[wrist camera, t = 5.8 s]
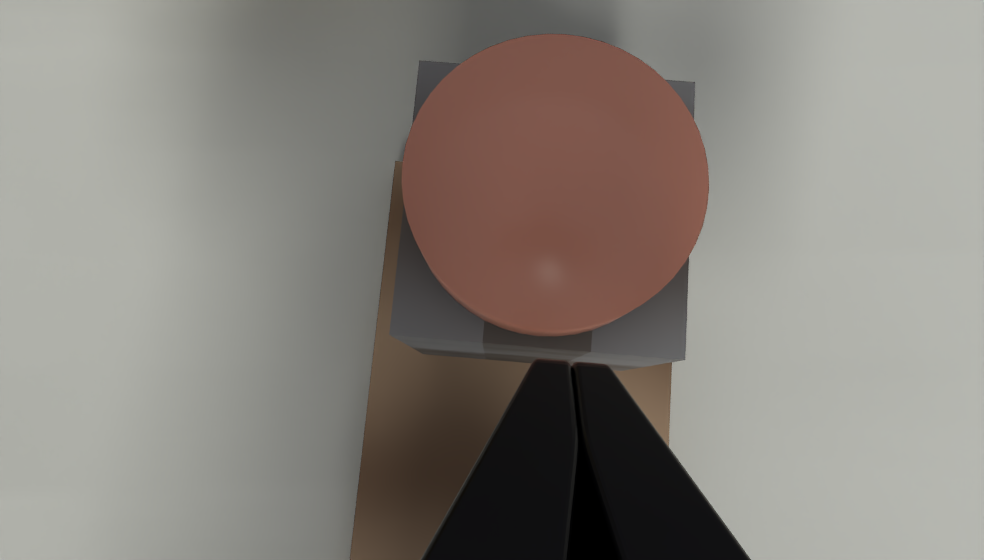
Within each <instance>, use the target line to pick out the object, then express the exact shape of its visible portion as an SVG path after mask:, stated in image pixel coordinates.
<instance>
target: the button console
mask: <svg viewBox="0 0 984 560" xmlns="http://www.w3.org/2000/svg"><path fill="white" fill-rule="evenodd" d="M458 65H460V64H456V63H443V62H431V61H419V70H418V79H417V88H416V97H415V106H414V115H413V123H414V121H415V119H416V116H417V114H418V112H419V110H420V108H421V107H422V105H423V104H424V102H425V101H426V99H427V98H428V96H429V95H430V93H431V92H432V91H433V90H434V89H435V88H436V86H437V85H438V84H439V83H440V82H441V81H442V79H443V78H445V77H446V76H447V75H448V74H449V73H450V72H451V71H452V70H454V69H455V68H456V67H457V66H458ZM666 81H667V82H668V83H669V85H670V86H671V87H672V88H673V89H674V91H675V92H676V93H677V94H678V95H679V96H680V98H681V99H682V101H683V102H684V104H685V105H686V107H687V109H688V110H689V112H690V113H691V115H692V117H693V119H694V96H695V82H685V81H672V80H666ZM412 125H413V124H412ZM402 163H403V162H400V161H395V169H394V178H393V187H392V195H391V204H390V213H389V222H388V230H387V239H386V248H385V257H384V265H383V274H382V283H381V292H380V300H379V309H378V318H377V327H376V335H375V344H374V353H373V361H372V370H371V379H370V388H369V396H368V405H367V414H366V423H365V431H364V440H363V449H362V458H361V466H360V475H359V484H358V493H357V501H356V510H355V519H354V528H353V536H352V545H351V554H350V560H420V559H421V557H422V555H423V554H424V552H425V550H426V548H427V547H428V545H429V543H430V541H431V540H432V538H433V536H434V534H435V533H436V531H437V529H438V527H439V526H440V524H441V522H442V520H443V519H444V517H445V515H446V513H447V511H448V510H449V508H450V506H451V504H452V503H453V501H454V499H455V497H456V496H457V494H458V492H459V490H460V489H461V487H462V485H463V483H464V482H465V480H466V478H467V476H468V475H469V473H470V471H471V469H472V468H473V466H474V464H475V462H476V460H477V459H478V457H479V455H480V453H481V452H482V450H483V448H484V446H485V445H486V443H487V441H488V439H489V438H490V436H491V434H492V432H493V431H494V429H495V427H496V425H497V424H498V422H499V420H500V418H501V416H502V415H503V413H504V411H505V409H506V408H507V406H508V404H509V402H510V401H511V399H512V397H513V395H514V394H515V392H516V390H517V388H518V387H519V385H520V383H521V381H522V380H523V378H524V376H525V374H526V373H527V371H528V369H529V367H530V365H531V364H532V362H533V361H534V360H536V359H539V358H541V359H553V360H564V361H567V362H569V364H570V365H571V366H572V365H573V363H575V362H587V363H599V364H605V365H608V366H609V367H610V368H611V369H612V370H613V371H614V373H615V374H616V375H617V377H618V378H619V380H620V381H621V382H622V384H623V385H624V386H625V388H626V389H627V391H628V392H629V393H630V395H631V396H632V397H633V399H634V400H635V401H636V403H637V404H638V406H639V407H640V408H641V410H642V411H643V412H644V414H645V415H646V417H647V418H648V419H649V421H650V422H651V423H652V425H653V426H654V428H655V429H656V430H657V432H658V433H659V434H660V436H661V437H662V438H663V440H664V441H665V443H666V444H667V445H668V447H669V421H670V395H671V370H672V362H676V361H681V360H685V351H686V322H687V294H688V266H689V257H688V258H687V260H686V262H685V263H684V264H683V266H682V267H681V268H680V270H679V271H678V272H677V274H676V275H675V276H674V278H673V279H672V280H671V281H670V282H669V283H668V284H667V285H665V286H664V287H663V288H662V289H661V290H660V291H659V292H658V293H657V294H656V295H654V296H653V297H652V298H650V299H649V300H648V301H646V302H645V303H644V304H642V305H640V306H639V307H637V308H635V309H634V310H632V311H630V312H629V313H627V314H625V315H623V316H622V317H620V318H618V319H616V320H615V321H613V322H611V323H609V324H607V325H604V326H601V327H599V328H596V329H594V330H591V331H587V332H583V333H579V334H575V335H566V336H557V337H555V336H534V335H527V334H520V333H517V332H513V331H510V330H506V329H503V328H500V327H498V326H496V325H493V324H491V323H489V322H486V321H484V320H483V319H481V318H479V317H478V316H476V315H474V314H473V313H471V312H470V311H468V310H467V309H466V308H464V307H463V306H462V305H461V304H459V303H458V302H457V301H456V300H455V299H454V298H453V297H452V296H451V295H450V294H449V293H448V292H447V291H446V290H445V289H444V288H443V287H442V285H441V284H440V283H439V281H438V280H437V279H436V277H435V276H434V274H433V273H432V271H431V269H430V268H429V266H428V264H427V262H426V260H425V258H424V257H423V255H422V253H421V251H420V249H419V247H418V245H417V243H416V241H415V238H414V236H413V233H412V231H411V228H410V225H409V223H408V220H407V215H406V211H405V207H404V202H403V193H402Z"/></svg>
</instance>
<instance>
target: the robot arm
mask: <svg viewBox="0 0 984 560" xmlns="http://www.w3.org/2000/svg"><path fill="white" fill-rule="evenodd" d="M420 560H751V559H750V558H749V556H748V555H747V554H746V552H745V551H744V550H743V548H742V547H741V545H740V544H739V543H738V541H737V540H736V539H735V537H734V536H733V534H732V533H731V532H730V530H729V529H728V528H727V526H726V525H725V523H724V522H723V521H722V519H721V518H720V517H719V515H718V514H717V513H716V511H715V510H714V508H713V507H712V506H711V504H710V503H709V502H708V500H707V499H706V497H705V496H704V495H703V493H702V492H701V491H700V489H699V488H698V486H697V485H696V484H695V482H694V481H693V480H692V478H691V477H690V476H689V474H688V473H687V471H686V470H685V469H684V467H683V466H682V465H681V463H680V462H679V460H678V459H677V458H676V456H675V455H674V454H673V452H672V451H671V449H670V448H669V447H668V445H667V444H666V443H665V441H664V440H663V438H662V437H661V436H660V434H659V433H658V432H657V430H656V429H655V428H654V426H653V425H652V423H651V422H650V421H649V419H648V418H647V417H646V415H645V414H644V412H643V411H642V410H641V408H640V407H639V406H638V404H637V403H636V401H635V400H634V399H633V397H632V396H631V395H630V393H629V392H628V391H627V389H626V388H625V386H624V385H623V384H622V382H621V381H620V380H619V378H618V377H617V375H616V374H615V373H614V371H613V370H612V369H611V368H610V367H609V366H608V365H605V364H599V363H587V362H575V363H573V365H572V366H571V365H570V364H569V362H567V361H564V360H553V359H541V358H539V359H536V360H534V361H533V362H532V364H531V365H530V367H529V369H528V371H527V373H526V374H525V376H524V378H523V380H522V381H521V383H520V385H519V387H518V388H517V390H516V392H515V394H514V395H513V397H512V399H511V401H510V402H509V404H508V406H507V408H506V409H505V411H504V413H503V415H502V416H501V418H500V420H499V422H498V424H497V425H496V427H495V429H494V431H493V432H492V434H491V436H490V438H489V439H488V441H487V443H486V445H485V446H484V448H483V450H482V452H481V453H480V455H479V457H478V459H477V460H476V462H475V464H474V466H473V468H472V469H471V471H470V473H469V475H468V476H467V478H466V480H465V482H464V483H463V485H462V487H461V489H460V490H459V492H458V494H457V496H456V497H455V499H454V501H453V503H452V504H451V506H450V508H449V510H448V511H447V513H446V515H445V517H444V519H443V520H442V522H441V524H440V526H439V527H438V529H437V531H436V533H435V534H434V536H433V538H432V540H431V541H430V543H429V545H428V547H427V548H426V550H425V552H424V554H423V555H422V557H421V559H420Z"/></svg>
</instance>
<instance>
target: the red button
mask: <svg viewBox="0 0 984 560" xmlns="http://www.w3.org/2000/svg"><path fill="white" fill-rule="evenodd" d="M402 193H403V202H404V207H405V211H406V215H407V220H408V223H409V225H410V228H411V231H412V233H413V236H414V238H415V241H416V243H417V245H418V247H419V249H420V251H421V253H422V255H423V257H424V258H425V260H426V262H427V264H428V266H429V268H430V269H431V271H432V273H433V274H434V276H435V277H436V279H437V280H438V281H439V283H440V284H441V285H442V287H443V288H444V289H445V290H446V291H447V292H448V293H449V294H450V295H451V296H452V297H453V298H454V299H455V300H456V301H457V302H458V303H459V304H461V305H462V306H463V307H464V308H466V309H467V310H468V311H470V312H471V313H473V314H474V315H476V316H478V317H479V318H481V319H483V320H484V321H486V322H489V323H491V324H493V325H496V326H498V327H500V328H503V329H506V330H510V331H513V332H517V333H520V334H527V335H534V336H555V337H557V336H566V335H575V334H579V333H583V332H587V331H591V330H594V329H596V328H599V327H601V326H604V325H607V324H609V323H611V322H613V321H615V320H616V319H618V318H620V317H622V316H623V315H625V314H627V313H629V312H630V311H632V310H634V309H635V308H637V307H639V306H640V305H642V304H644V303H645V302H646V301H648V300H649V299H650V298H652V297H653V296H654V295H656V294H657V293H658V292H659V291H660V290H661V289H662V288H663V287H664V286H665V285H667V284H668V283H669V282H670V281H671V280H672V279H673V278H674V276H675V275H676V274H677V272H678V271H679V270H680V268H681V267H682V266H683V264H684V263H685V262H686V260H687V258H688V257H689V255H690V253H691V251H692V249H693V248H694V246H695V244H696V241H697V239H698V236H699V234H700V231H701V229H702V226H703V222H704V218H705V214H706V210H707V203H708V193H709V175H708V164H707V159H706V153H705V148H704V145H703V142H702V139H701V136H700V133H699V130H698V128H697V126H696V124H695V122H694V119H693V117H692V115H691V113H690V112H689V110H688V109H687V107H686V105H685V104H684V102H683V101H682V99H681V98H680V96H679V95H678V94H677V93H676V92H675V91H674V89H673V88H672V87H671V86H670V85H669V83H668V82H667V81H666V80H664V79H663V78H662V77H661V76H660V75H659V74H658V73H657V72H656V71H655V70H654V69H652V68H651V67H649V66H648V65H647V64H645V63H644V62H643V61H641V60H640V59H638V58H637V57H635V56H633V55H631V54H629V53H627V52H626V51H624V50H622V49H620V48H617V47H615V46H612V45H610V44H607V43H605V42H602V41H598V40H594V39H590V38H586V37H581V36H574V35H567V34H541V35H531V36H524V37H520V38H516V39H511V40H507V41H505V42H502V43H499V44H496V45H494V46H491V47H489V48H487V49H485V50H483V51H481V52H479V53H477V54H475V55H473V56H472V57H470V58H469V59H467V60H466V61H464V62H463V63H461V64H460V65H458V66H457V67H456V68H455V69H454V70H452V71H451V72H450V73H449V74H448V75H447V76H446V77H445V78H443V79H442V81H441V82H440V83H439V84H438V85H437V86H436V88H435V89H434V90H433V91H432V92H431V93H430V95H429V96H428V98H427V99H426V101H425V102H424V104H423V105H422V107H421V108H420V110H419V112H418V114H417V116H416V119H415V121H414V123H413V125H412V127H411V130H410V133H409V136H408V139H407V142H406V146H405V152H404V157H403V163H402Z"/></svg>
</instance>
